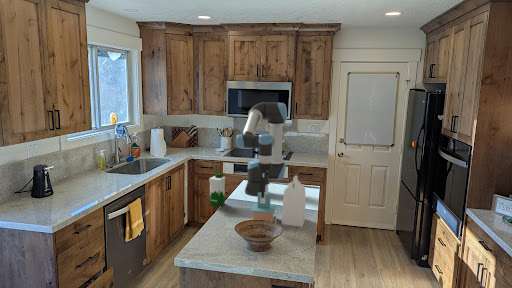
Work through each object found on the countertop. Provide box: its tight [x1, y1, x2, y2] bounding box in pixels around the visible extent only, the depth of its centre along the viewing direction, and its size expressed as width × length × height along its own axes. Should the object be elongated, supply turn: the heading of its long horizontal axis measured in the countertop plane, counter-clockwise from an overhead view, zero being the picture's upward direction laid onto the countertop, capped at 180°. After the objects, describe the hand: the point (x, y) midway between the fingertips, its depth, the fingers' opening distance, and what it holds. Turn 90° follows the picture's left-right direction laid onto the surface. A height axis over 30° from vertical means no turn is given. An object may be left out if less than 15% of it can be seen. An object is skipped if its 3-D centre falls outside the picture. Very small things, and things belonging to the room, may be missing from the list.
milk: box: [281, 175, 306, 228], centre depth 196 cm, size 12×12×26 cm
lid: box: [251, 192, 277, 214], centre depth 198 cm, size 13×13×9 cm
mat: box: [224, 206, 253, 219], centre depth 209 cm, size 16×16×1 cm
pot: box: [252, 212, 275, 223], centre depth 199 cm, size 11×11×7 cm
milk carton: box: [208, 172, 226, 208], centre depth 221 cm, size 9×9×20 cm
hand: (264, 199), depth 198 cm, fingers open, 13 cm apart
